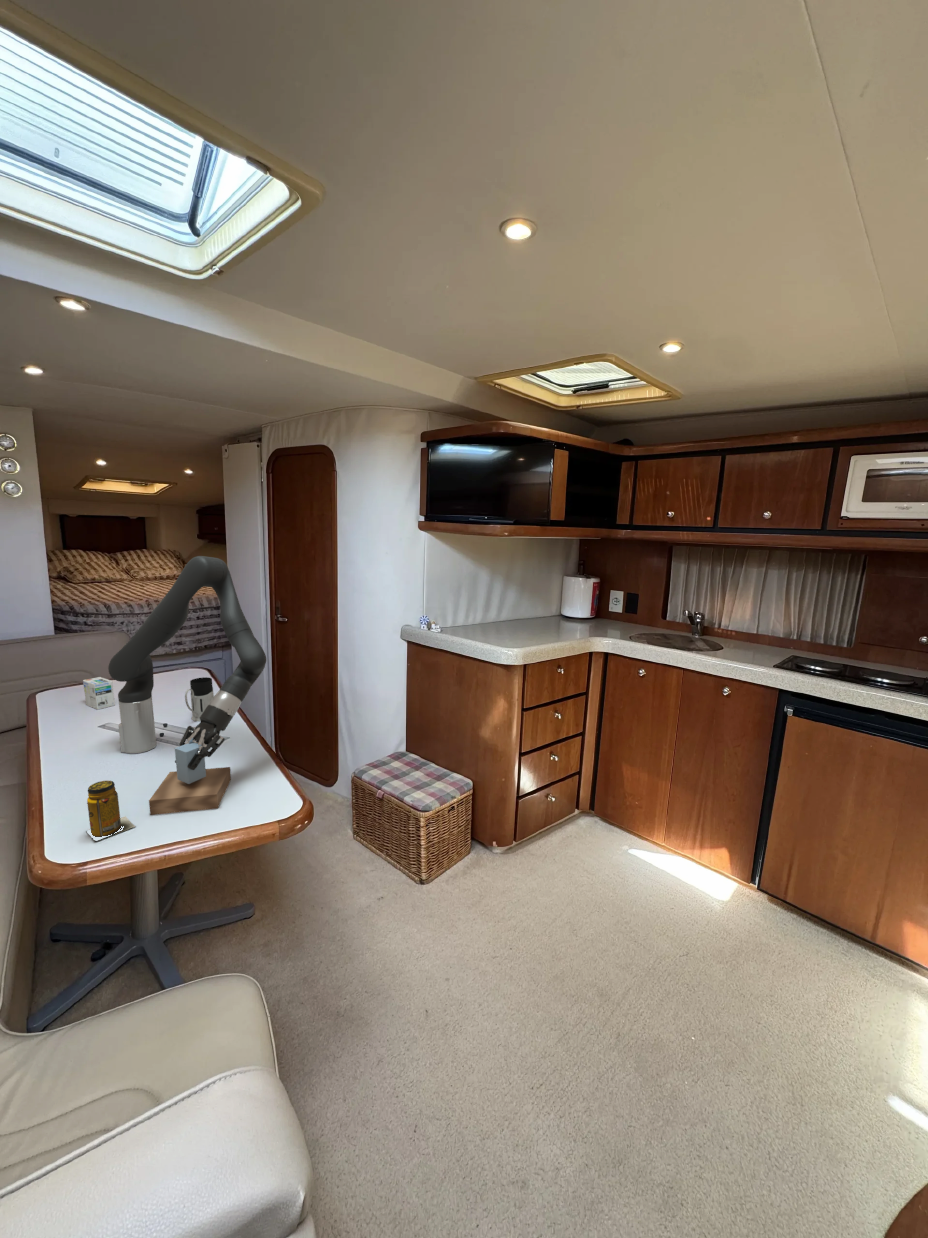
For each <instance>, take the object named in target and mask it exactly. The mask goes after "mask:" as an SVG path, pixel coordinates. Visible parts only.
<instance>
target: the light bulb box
mask: <svg viewBox="0 0 928 1238" xmlns="http://www.w3.org/2000/svg"><path fill="white" fill-rule="evenodd" d="M82 684H83V689H84V699H85V706H88V707H91V708H93V709H95V710H101V709H106V708H109V707H114V706H116V702H115V694H114V688H113V687H114V685H113V680H111V679H108V678H105V677H103V676H102V677H101V676H98V677H93V678H87V679H83V680H82Z"/></svg>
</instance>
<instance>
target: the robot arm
mask: <svg viewBox="0 0 928 1238" xmlns="http://www.w3.org/2000/svg"><path fill="white" fill-rule="evenodd" d="M234 585H235V584H234V582H233V579H232V574H231V572H230V569H229V567H228V564H227V563H226V562H225V561H224V560H223V559H221V558H218V557H212V556H205V555H197V556H194V557H192V558H191V559H190V560H189V561H188V562H187V563H186V564H185V566H184V568H183V569H182V571H181V572H180V574H179V575H178V577H177V579H176V580H175V582H174V583H173V585H172V587H170V588H169V590H168V592H166V594H165V595H164V596H163V598H162V600H161V601H160V602H159V603H158V604H157V605H156V606H155V608H153V610H152V611H151V613H150V614H149V615H148V616H147V618H146V619H145V621H143V623H142V624H141V625H140V627H138V629H137V630H136V632H135V633H134V635H133V636H132V637H131V638H130V639H129V641H128V642H127V643H126V644H125V645H124V646H123V647H121V649H119V651H117V652H116V653H115V655H113V657H112V658H111V659H110V661H109V663H108V666H107V669H108V674H109V676H110V677H111V679H113V680H114V681H116V682H120V683H121V682H123V683H124V682H125V684H124V685H123V687H122V688H121V689H120V690H119V691H118V693H117V698H118V707H119V717H120V723H119V724H118V733H119V743H120V752H121V753H125V754H140V753H145V752H148V751H151V750H153V749H154V748H156V747H157V736H156V726H155V713H154V705H153V690H154V689H153V688H154V686H155V684H154V665H153V659H152V657H151V654H152V653H154V652H155V651H156V650H157V649H158V648H161V647H162V646H163V645H164V644H165V643H167V642H168V641H170V640H171V639H172V638H173V637H174V636H175V635H177V633H178V632H179V630H180V629H182V627H183V626H184V624H185V623H186V621H187V619H188V617H189V608H190V607H189V606H190V601H191V600H192V598H193V597H194V596H195V595H196V593H198V591H200V589H202V588H212V590H213V591H214V592H215V594H216V596H217V598H218V600H219V606H220V607H219V608H220V610H219V611H220V613H219V618H220V624H221V627H222V629H223V631H224V633H225V636H226V637H227V639H228V641H229V642H228V643H230V645H231V646H232V647H233V648H234V649H235V652H236V654H237V656H238V658H239V664H238V665H237V667H236V668H235V670H234V671H233V673H232V674H231V675H229V676H228V677H227V678H226V679H225V681H224V682H223V684H222V686H221V687H220V689H219V690H218V692H217V693H216V694H215V695H214V697H213V699H212V700H211V702H210V703H209V704H208V706H207V707H206V709H205V710H204V712H203V713H202V715H201V716H200V720H201V721H199V724H197V725H196V726H192V725H188V726H187V728H186V730H185V731H184V733H183V736H182V737H181V739H180V742H179V747H180V746H182V745H185V744H190V743H193V742H195V743H197V744H198V747H199V749H198V750H197V752H196V754H197V755H196V754H195V755H194V757H193V758H192V760H191V761H190V763H189V764H188V766H187V767H188V768H189V769H191V770H195V768H196V767H197V766H198V765H199V763H200V761H201V760H202V758H206V757H207V758H210V757H212V756H213V754H214V753H215V752H216V751H217V750H218V748H220V746H221V745H222V744H223V743H224V742H225V740H226V739H225V738H224V737H223V736H221V735H220V734H221V732H223V731H225V730H226V728H227V727H228V726H229V724H230V723H231V721H232V720H233V718H234V716H235V715H236V714H237V712H238V710H239V708H240V706H241V704H242V702H243V701H244V699H245V697H246V696H247V695H248V693H249V692H250V690H251V687H252V686H253V685H254V684H255V682H256V681H257V680H258V678H259V677H260V675H261V674H262V672H263V671H264V670H265V668H266V667H265V666H266V664H267V655H266V653H265V651H264V649H263V647H262V645H261V644H260V642H259V640H257V638H256V637H255V635H254V633H253V630H252V628H251V627H250V625H249V622H248V620H247V619H246V618H247V617H246V616H245V615H244V612H243V610H242V608H241V605H240V601H239V598H238V595H237V592H236V589H235V586H234ZM203 748H204V749H203ZM202 749H203V750H202ZM174 763H175V764H176V759H175V760H174Z"/></svg>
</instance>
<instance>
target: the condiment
mask: <svg viewBox="0 0 928 1238" xmlns="http://www.w3.org/2000/svg"><path fill="white" fill-rule="evenodd" d="M88 786H89V785H88ZM115 786H116V785H115V782H114V781H112V780H100V781H97V782H95V783H92V784H91V785H90V786H89V787H88V788H87V796H88V797H87V799H86V800H87V801H86V804H87V809H88V810H87V811H88V818H89V820H88V821H89V826H90V829H91V833H92V835H93V836H95V837H102V836H108V835H111V834H112V835H113V834H114V833H115V832H117V831H118V830H119V829H120V828H121V826H122V827H123V826H124V828H123V830H122V831H120V832H117V833H115V835H118V834H119V833H123V832H126V831H128V830H130V829H132V828H135V827H136V825H135V824H133V822H132V821H130V819H129V818H128V817H127V816H126V815H125V816H123V817H121V813H120V804H119V794H118V792H117V790H116V787H115ZM90 829H89V830H90ZM121 829H122V828H121ZM121 829H120V830H121ZM115 835H113V836H115Z"/></svg>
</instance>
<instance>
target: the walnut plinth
mask: <svg viewBox="0 0 928 1238" xmlns="http://www.w3.org/2000/svg"><path fill="white" fill-rule="evenodd" d="M231 773H232V772H231V766H225V767H214V768H206V777H204V778H202V779H199V780H197V781H195V782H193V783H190V784H187V783H185V782H182V781H180V780H178V779H177V770H176V771H169V773H167V775H166V776H165V778H164V780H162V782H161V783H160V785H159V786H158V788H157V789H156V790H155V791H154V793H153V794H152V795H151V797H150V798H149V800H148V806H149V815H150V816H153V815H164V814H174V813H175V814H176V813H185V812H194V811H195V812H196V811H205V810H214V809H215V810H217V809H219V806H220V805H221V803H222V800H223V798H224V796H225V793H226V791H227V789H228V787H229V785H230V783H231V780H232V774H231Z"/></svg>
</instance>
